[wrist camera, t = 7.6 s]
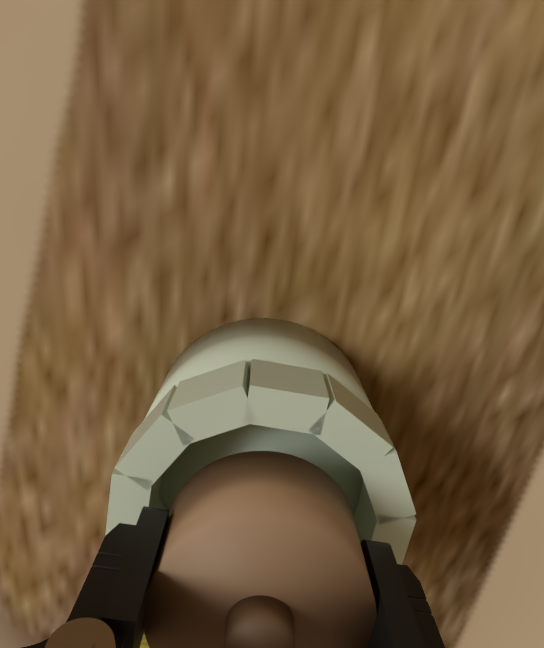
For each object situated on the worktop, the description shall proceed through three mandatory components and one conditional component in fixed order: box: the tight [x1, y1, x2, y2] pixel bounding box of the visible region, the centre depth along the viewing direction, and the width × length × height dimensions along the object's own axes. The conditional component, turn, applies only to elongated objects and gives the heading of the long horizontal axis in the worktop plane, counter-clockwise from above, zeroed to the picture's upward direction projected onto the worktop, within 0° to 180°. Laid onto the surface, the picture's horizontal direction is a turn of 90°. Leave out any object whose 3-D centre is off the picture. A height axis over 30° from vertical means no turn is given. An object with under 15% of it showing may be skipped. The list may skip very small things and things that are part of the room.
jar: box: [105, 318, 416, 565], centre depth 18 cm, size 9×9×7 cm
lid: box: [144, 451, 377, 648], centre depth 12 cm, size 6×6×4 cm
